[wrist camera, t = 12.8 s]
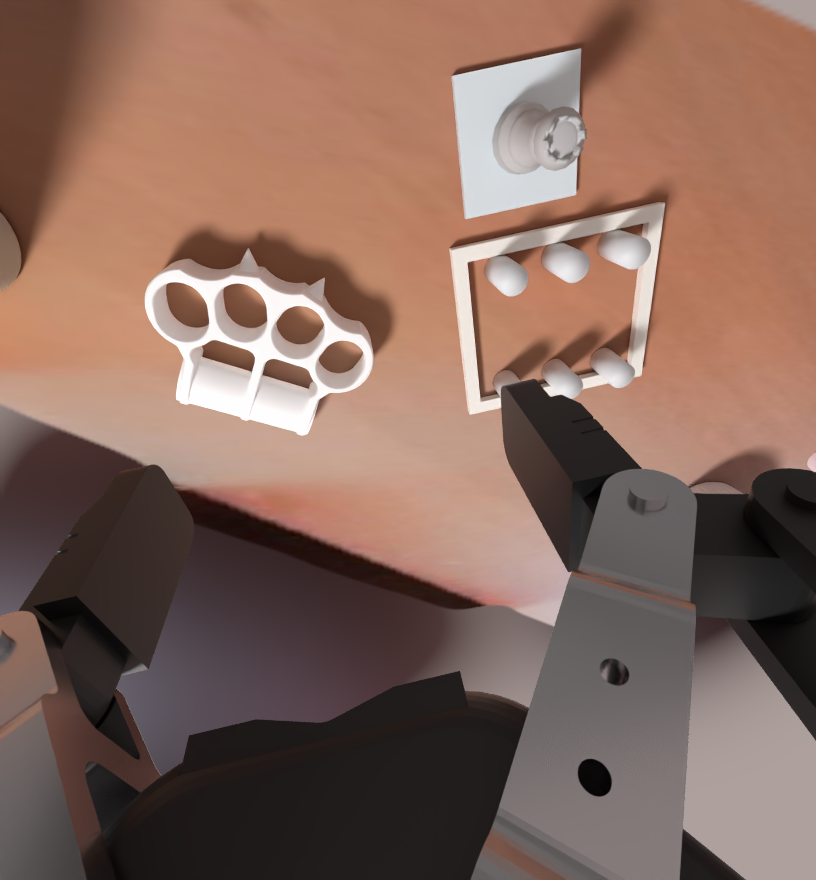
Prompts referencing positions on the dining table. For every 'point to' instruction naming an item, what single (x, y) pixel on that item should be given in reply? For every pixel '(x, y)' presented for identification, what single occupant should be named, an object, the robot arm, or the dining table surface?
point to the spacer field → (571, 269)
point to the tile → (478, 114)
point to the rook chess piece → (537, 138)
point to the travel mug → (8, 254)
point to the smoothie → (812, 462)
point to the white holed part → (255, 345)
